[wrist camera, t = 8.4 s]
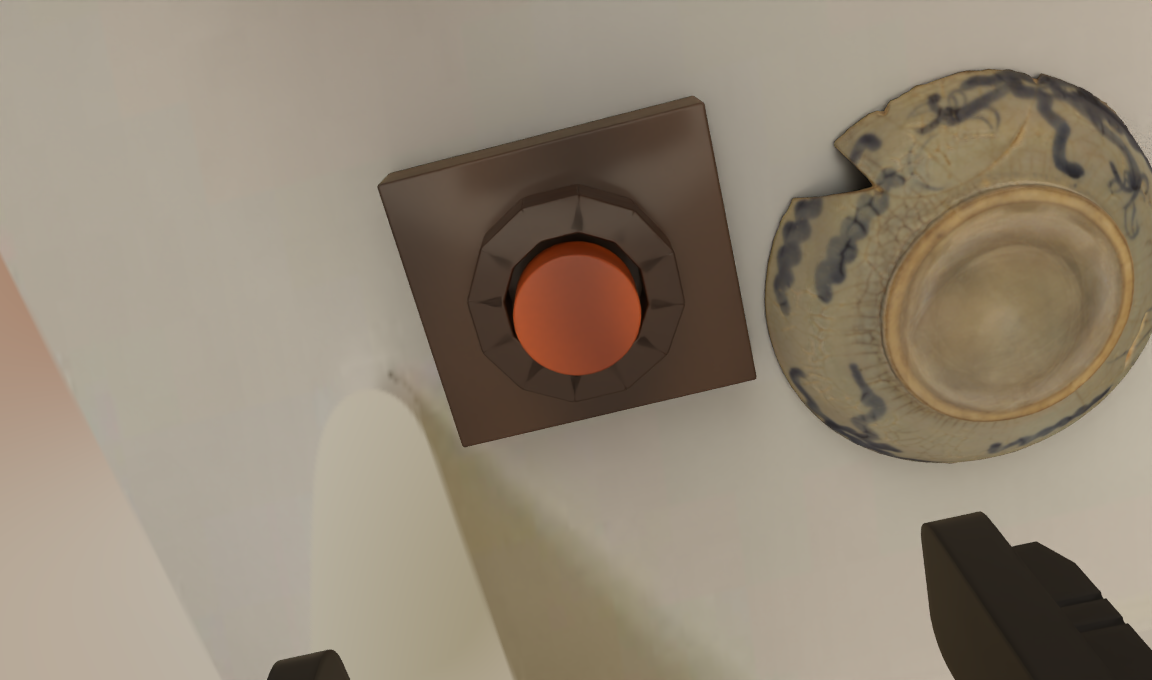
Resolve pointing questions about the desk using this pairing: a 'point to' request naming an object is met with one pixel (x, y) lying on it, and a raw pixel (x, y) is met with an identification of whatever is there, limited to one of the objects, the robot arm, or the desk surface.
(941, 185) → the decorative bowl
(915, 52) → the desk surface
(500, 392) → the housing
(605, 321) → the button
